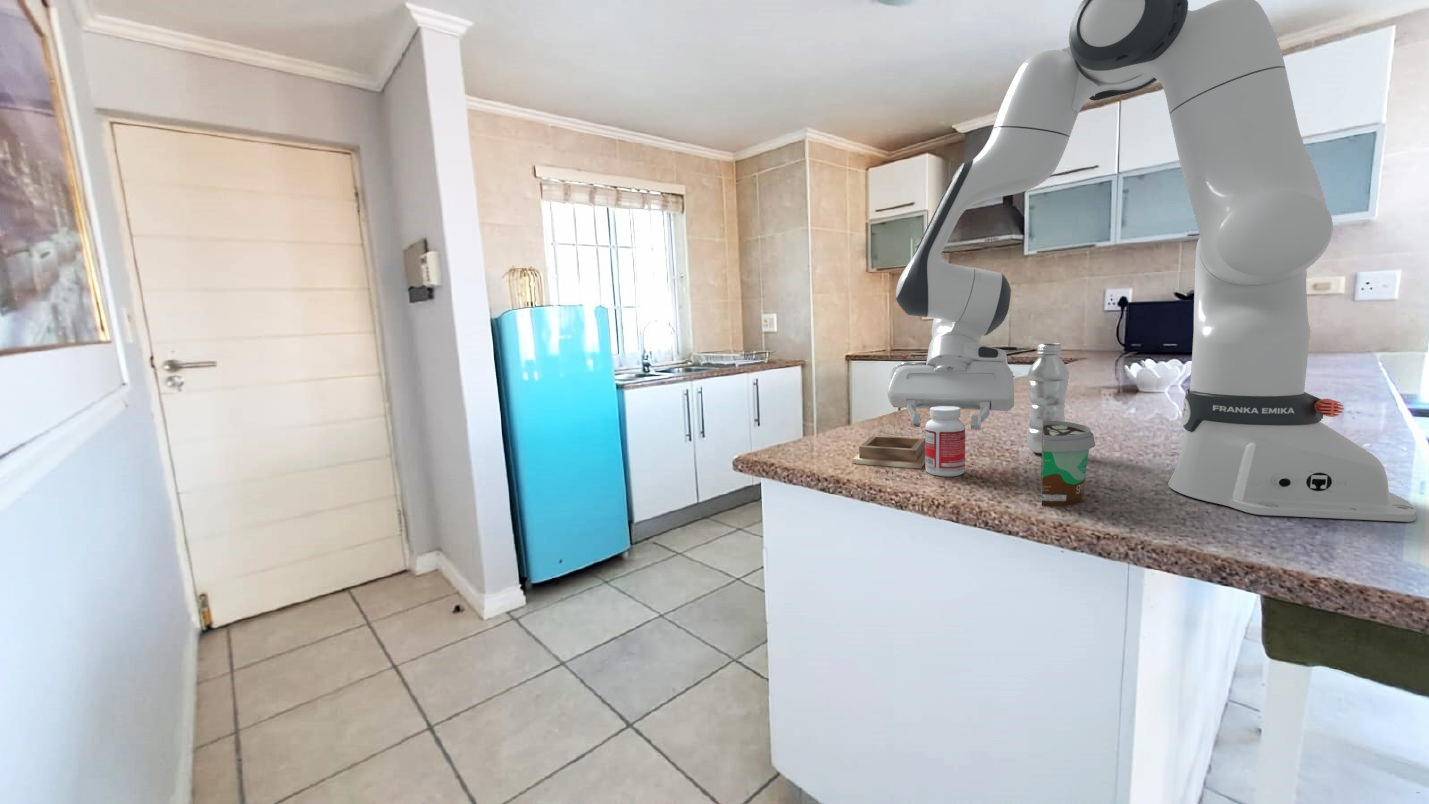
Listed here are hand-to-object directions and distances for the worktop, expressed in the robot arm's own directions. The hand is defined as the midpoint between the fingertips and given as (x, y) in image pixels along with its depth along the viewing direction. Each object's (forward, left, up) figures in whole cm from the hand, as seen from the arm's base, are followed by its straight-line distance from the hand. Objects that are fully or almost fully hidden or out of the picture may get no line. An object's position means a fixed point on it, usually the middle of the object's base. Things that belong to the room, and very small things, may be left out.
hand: (944, 426), depth 93 cm
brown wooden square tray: (+10, -7, -8) cm, 14 cm away
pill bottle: (0, 0, -8) cm, 8 cm away
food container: (-17, +8, -8) cm, 21 cm away
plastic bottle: (-15, -18, -8) cm, 24 cm away
